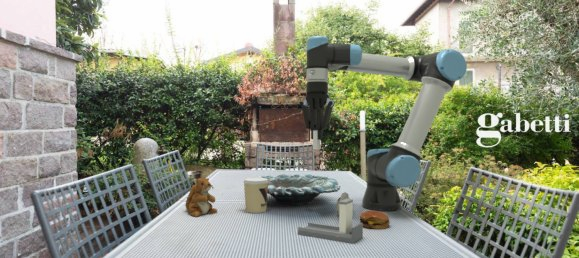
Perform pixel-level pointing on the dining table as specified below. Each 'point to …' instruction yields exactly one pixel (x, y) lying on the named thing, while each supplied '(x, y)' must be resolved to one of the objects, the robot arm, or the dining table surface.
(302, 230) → the fader rail
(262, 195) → the coffee cup
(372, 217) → the burger
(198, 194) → the stuffed squirrel
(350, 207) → the fader tab
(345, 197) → the decorative bird
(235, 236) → the dining table surface
